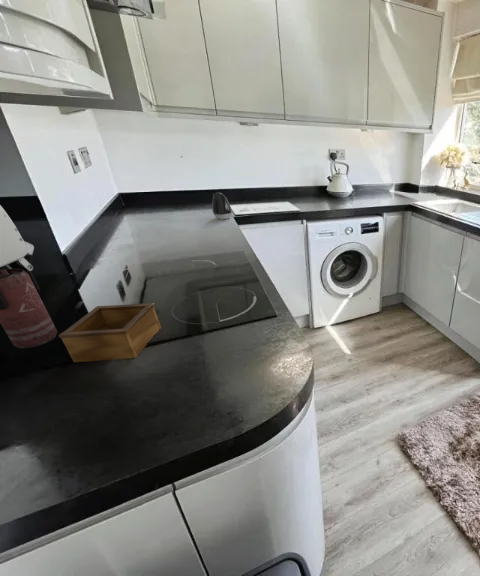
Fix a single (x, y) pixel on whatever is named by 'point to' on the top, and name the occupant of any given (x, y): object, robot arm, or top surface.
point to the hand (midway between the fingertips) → (14, 299)
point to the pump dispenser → (221, 206)
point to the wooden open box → (111, 332)
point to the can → (24, 311)
